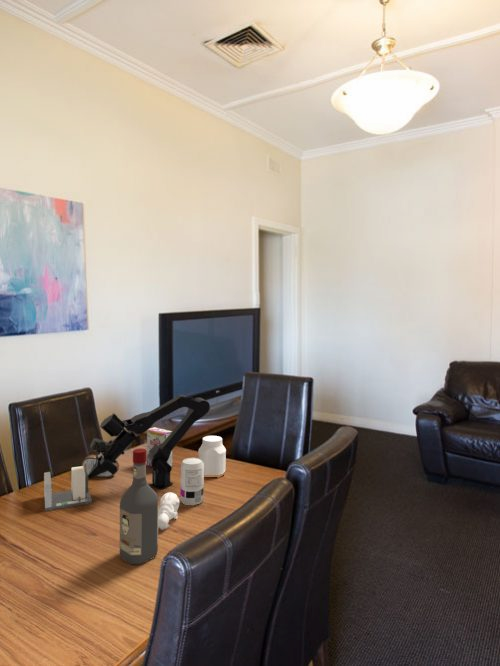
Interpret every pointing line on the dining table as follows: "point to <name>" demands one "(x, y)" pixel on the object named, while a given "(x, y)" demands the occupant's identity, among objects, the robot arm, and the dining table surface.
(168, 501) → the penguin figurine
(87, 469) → the tin
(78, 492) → the block
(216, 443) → the jar
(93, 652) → the dining table surface
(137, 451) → the liquor
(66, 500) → the base
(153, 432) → the candy bar box
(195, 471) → the supplement can
